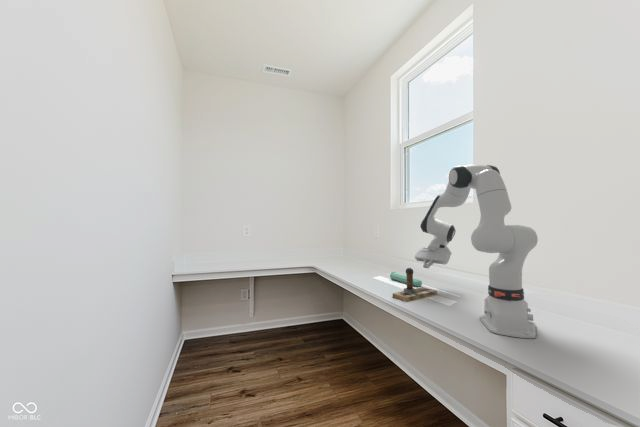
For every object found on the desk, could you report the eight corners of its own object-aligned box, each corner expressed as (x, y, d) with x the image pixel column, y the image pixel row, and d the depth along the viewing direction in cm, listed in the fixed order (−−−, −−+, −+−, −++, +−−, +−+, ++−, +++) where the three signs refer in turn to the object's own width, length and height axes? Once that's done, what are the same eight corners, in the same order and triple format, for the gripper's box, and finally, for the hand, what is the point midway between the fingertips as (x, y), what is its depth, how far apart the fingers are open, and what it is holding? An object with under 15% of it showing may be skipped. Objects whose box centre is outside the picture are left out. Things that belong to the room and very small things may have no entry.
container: (422, 277, 172) (395, 270, 195) (415, 281, 170) (388, 274, 193) (425, 285, 173) (397, 277, 196) (418, 290, 171) (391, 281, 194)
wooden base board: (422, 290, 163) (422, 286, 163) (437, 294, 155) (437, 290, 155) (392, 297, 151) (392, 292, 151) (407, 301, 142) (407, 297, 142)
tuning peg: (410, 290, 154) (409, 266, 154) (421, 293, 148) (420, 268, 148) (403, 292, 151) (403, 267, 152) (414, 295, 145) (413, 269, 145)
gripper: (418, 244, 171) (408, 261, 165) (449, 246, 153) (438, 266, 148) (423, 251, 173) (413, 268, 168) (454, 253, 155) (444, 273, 150)
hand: (425, 267), depth 158 cm, fingers closed
